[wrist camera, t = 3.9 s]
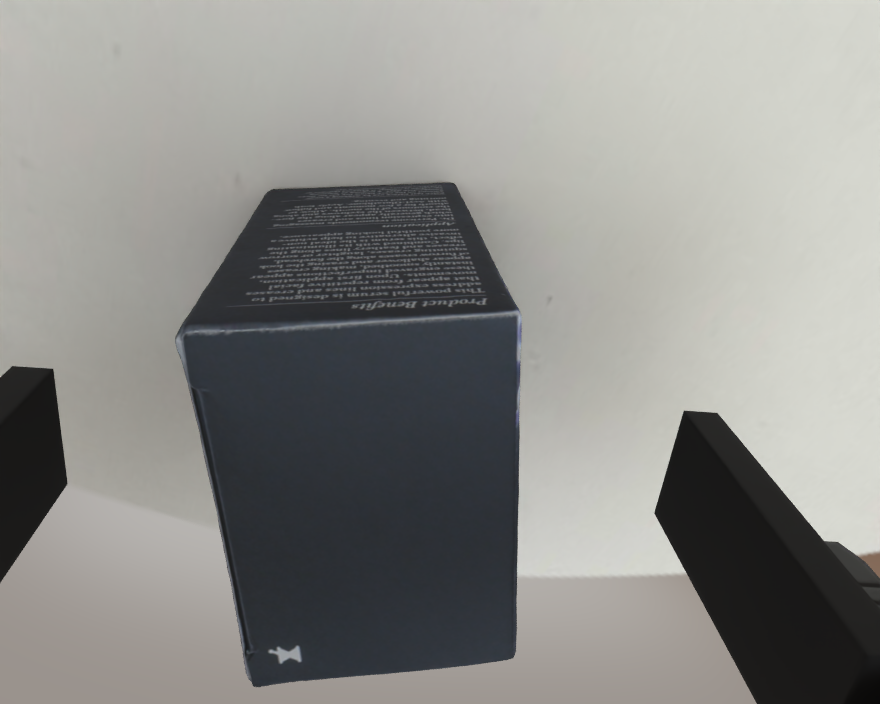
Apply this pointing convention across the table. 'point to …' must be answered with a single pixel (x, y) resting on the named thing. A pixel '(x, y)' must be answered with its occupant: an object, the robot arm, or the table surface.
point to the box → (362, 433)
